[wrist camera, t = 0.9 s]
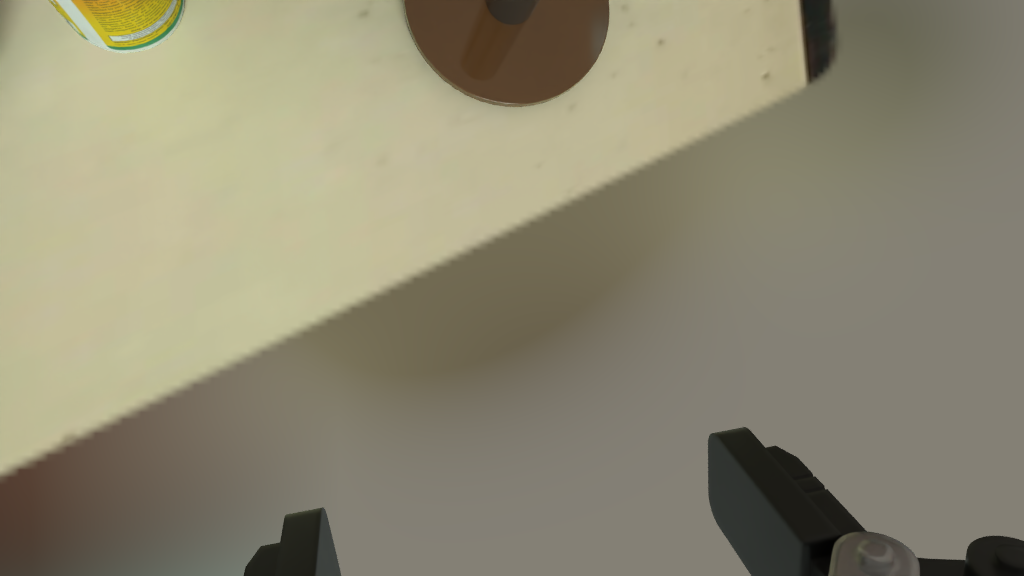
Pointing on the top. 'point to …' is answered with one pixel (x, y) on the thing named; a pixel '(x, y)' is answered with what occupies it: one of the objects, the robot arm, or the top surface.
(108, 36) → the supplement bottle
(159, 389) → the top surface
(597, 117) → the top surface
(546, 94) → the lid
